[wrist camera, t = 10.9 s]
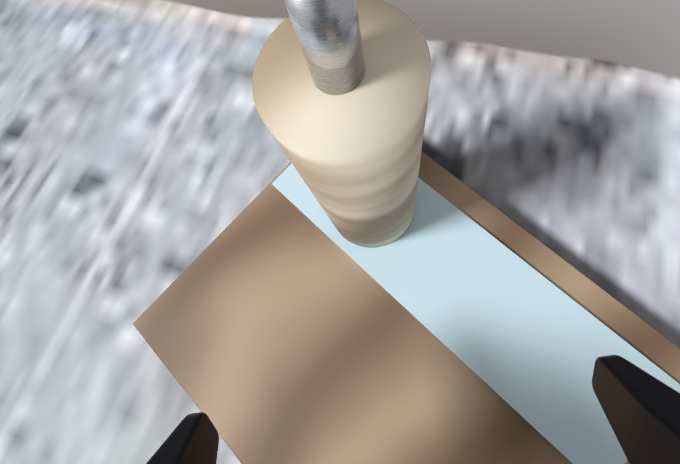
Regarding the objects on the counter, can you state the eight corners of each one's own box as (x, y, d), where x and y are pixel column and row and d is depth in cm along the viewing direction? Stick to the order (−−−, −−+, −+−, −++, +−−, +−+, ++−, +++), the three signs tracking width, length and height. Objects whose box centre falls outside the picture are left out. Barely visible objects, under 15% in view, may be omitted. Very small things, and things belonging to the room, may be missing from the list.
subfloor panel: (679, 364, 16) (711, 369, 14) (426, 666, 15) (429, 709, 13) (356, 113, 21) (352, 96, 19) (151, 323, 20) (130, 323, 18)
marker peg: (432, 202, 17) (501, -63, 5) (374, 265, 17) (312, 131, 5) (369, 152, 19) (312, -162, 7) (314, 210, 18) (148, -6, 6)
